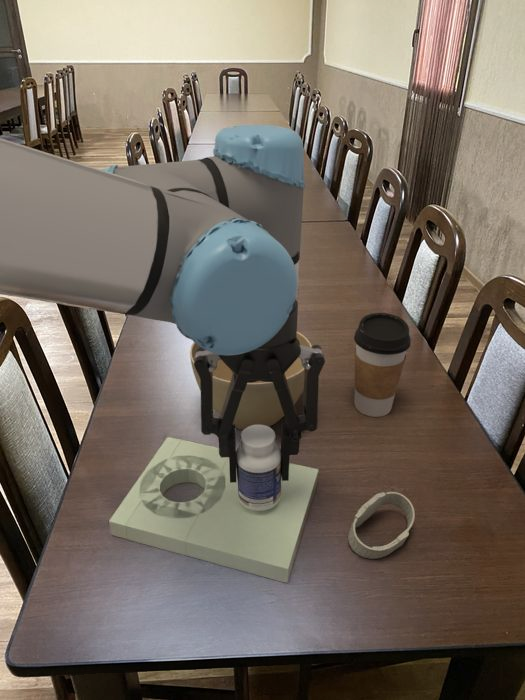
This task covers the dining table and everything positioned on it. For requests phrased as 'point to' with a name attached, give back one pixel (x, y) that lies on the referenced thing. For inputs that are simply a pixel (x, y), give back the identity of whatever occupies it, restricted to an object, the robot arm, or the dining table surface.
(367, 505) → the wristwatch
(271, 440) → the pill bottle
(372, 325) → the coffee cup
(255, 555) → the pale green flat block
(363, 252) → the dining table surface
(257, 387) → the tan round bowl
